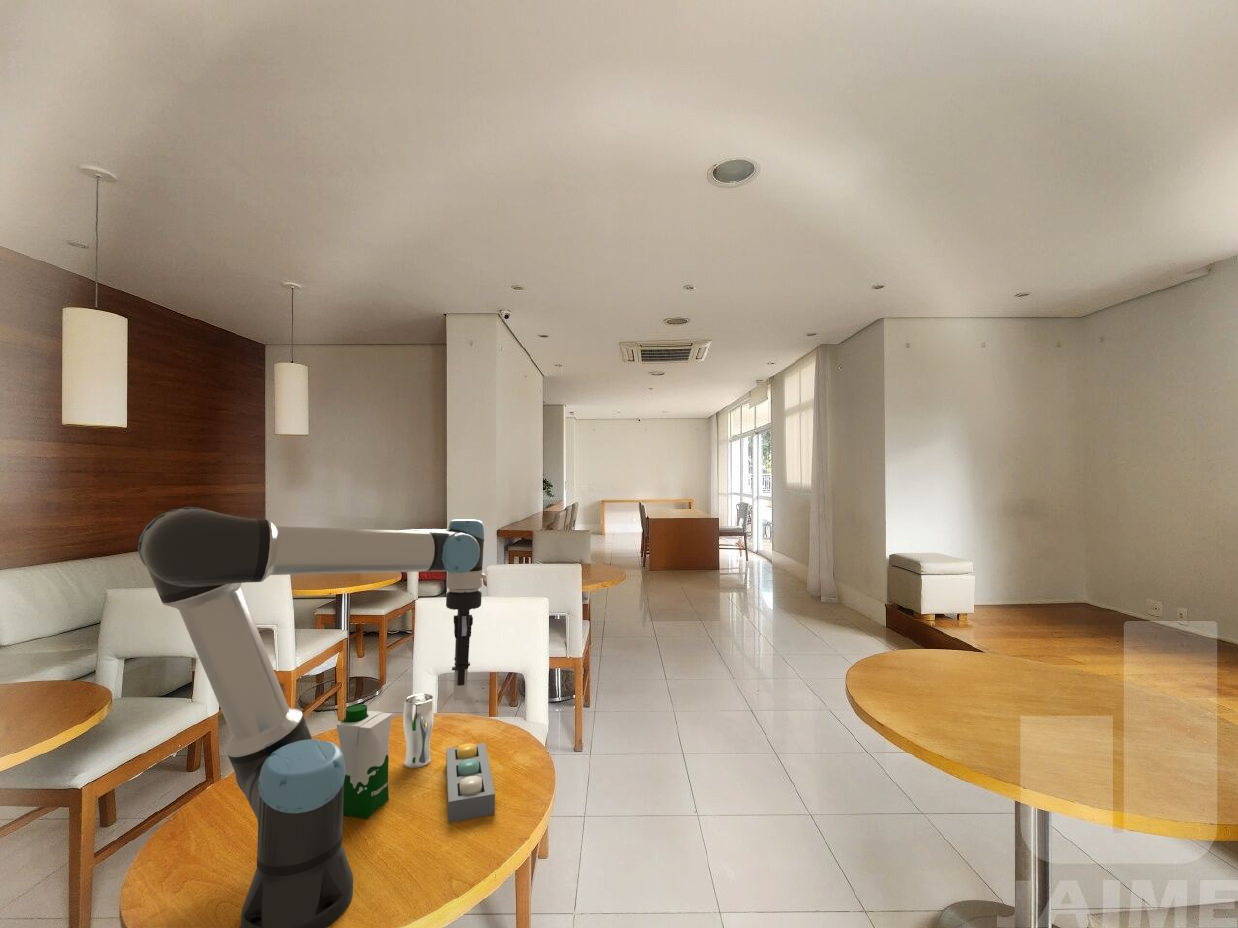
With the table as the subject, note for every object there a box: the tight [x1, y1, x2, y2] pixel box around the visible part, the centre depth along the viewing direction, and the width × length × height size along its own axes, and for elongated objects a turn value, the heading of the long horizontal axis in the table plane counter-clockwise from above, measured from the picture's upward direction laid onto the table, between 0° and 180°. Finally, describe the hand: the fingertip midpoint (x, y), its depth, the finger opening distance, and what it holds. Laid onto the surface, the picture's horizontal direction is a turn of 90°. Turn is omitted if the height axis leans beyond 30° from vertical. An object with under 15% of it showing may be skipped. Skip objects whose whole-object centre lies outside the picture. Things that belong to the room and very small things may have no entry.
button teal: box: [458, 759, 479, 777], centre depth 120 cm, size 4×4×3 cm
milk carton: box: [336, 703, 393, 820], centre depth 113 cm, size 9×9×20 cm
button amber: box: [457, 742, 477, 759], centre depth 128 cm, size 4×4×3 cm
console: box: [445, 742, 496, 824], centre depth 120 cm, size 24×9×4 cm, turn 18°
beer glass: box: [402, 693, 435, 769], centre depth 132 cm, size 7×7×15 cm
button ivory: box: [460, 776, 482, 796], centre depth 113 cm, size 4×4×3 cm
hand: (459, 698), depth 119 cm, fingers closed
